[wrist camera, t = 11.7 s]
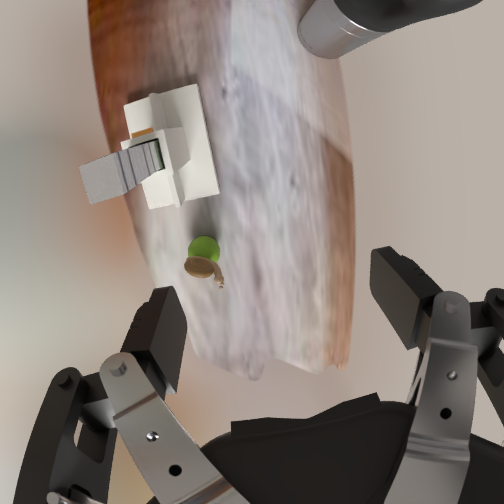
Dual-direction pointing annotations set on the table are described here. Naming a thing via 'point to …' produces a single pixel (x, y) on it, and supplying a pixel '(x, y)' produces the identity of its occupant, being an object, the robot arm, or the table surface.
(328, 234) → the table surface
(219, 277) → the snail figurine
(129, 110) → the grey stand
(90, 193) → the steel bar
